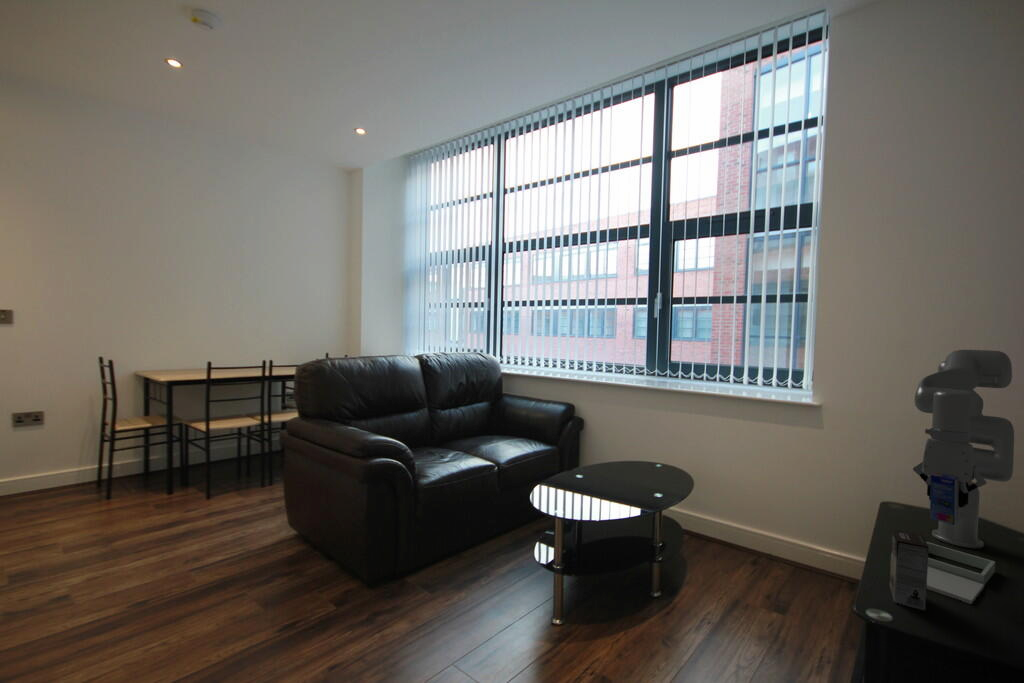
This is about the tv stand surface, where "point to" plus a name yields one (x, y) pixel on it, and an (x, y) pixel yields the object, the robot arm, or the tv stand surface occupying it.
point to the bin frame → (961, 557)
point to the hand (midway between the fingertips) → (946, 502)
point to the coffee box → (909, 568)
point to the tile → (953, 585)
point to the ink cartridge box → (945, 499)
